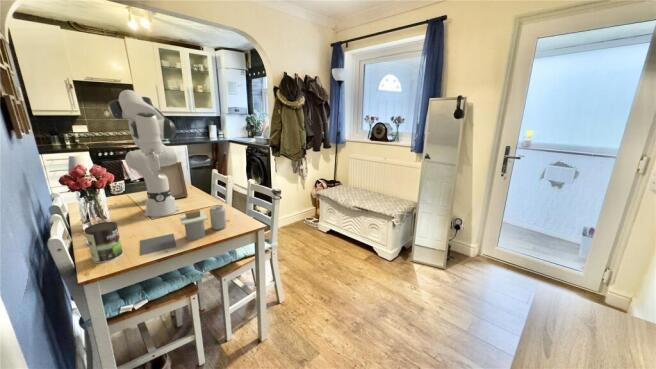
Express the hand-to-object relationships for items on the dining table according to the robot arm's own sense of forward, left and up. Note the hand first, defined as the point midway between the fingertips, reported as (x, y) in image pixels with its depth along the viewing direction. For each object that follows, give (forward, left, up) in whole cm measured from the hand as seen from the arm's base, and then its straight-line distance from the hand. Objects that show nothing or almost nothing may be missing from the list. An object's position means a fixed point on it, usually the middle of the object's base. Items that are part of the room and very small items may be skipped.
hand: (156, 176), depth 127 cm
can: (+10, +24, -29) cm, 39 cm away
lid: (+15, +12, -19) cm, 27 cm away
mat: (+14, -4, -29) cm, 32 cm away
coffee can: (+15, -22, -29) cm, 40 cm away
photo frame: (-59, +5, -29) cm, 66 cm away
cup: (+15, +12, -29) cm, 35 cm away
